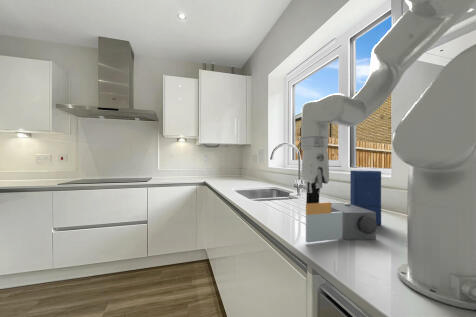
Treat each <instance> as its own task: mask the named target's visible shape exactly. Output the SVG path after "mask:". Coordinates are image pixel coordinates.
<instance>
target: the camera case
mask: <svg viewBox="0 0 476 317" xmlns="http://www.w3.org/2000/svg"><path fill="white" fill-rule="evenodd" d="M330 203H331V212H342V240H346V241H347V240H376V239H377V229H378V228H377V227H378V225H377V223H376V212H373V211H370V210H367V209H364V208H361V207H358V206H355V205H352V204H350V203H349V202H330Z"/></svg>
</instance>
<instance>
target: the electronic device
mask: <svg viewBox="0 0 476 317" xmlns="http://www.w3.org/2000/svg"><path fill="white" fill-rule="evenodd" d="M349 181H350V182H349V183H350V188H349V190H350V191H349V192H350V199H349V200H350V204H352V205H355V206H358V207H361V208H364V209H367V210H370V211H373V212H376V223H377V226H381V225H382V171H381V170H350V180H349Z"/></svg>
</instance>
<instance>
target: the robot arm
mask: <svg viewBox="0 0 476 317" xmlns="http://www.w3.org/2000/svg"><path fill="white" fill-rule="evenodd" d="M405 3H406V4H407V5H408V9H406V11H404V12H403V14H402V15H401V16H400V18H398V19H397V21H396V22H395V23H394V24H393V25H392V26H391V28H390V29H389V30H388V31H387V32H386V33H385V35H384V36H382V38H381V39H380V40H379V41H378V42H377V44H375V45H374V47H373V48H372V51H371V57H370V70H369V75H368V78H367V79H366V81H365V83H364V85H363V86H362V88H360V89H359V90H358V91H357V93H355V95H354V96H353V97H351V96H348V95H345V94H343V93H333V94H329V95H327V96H325V97H322V98H321V99H320V98H319V100H312V101H307V102H305V103H304V104H303V105H302V106H301V107H302V108H301V122H300V123H301V124H300V125H301V126H300V128H301V131H300V133H301V134H300V150H302V159H301V160H302V162H301V179H302V180H303V181H305V182H304V183H305V184H306V185H305V187H306V189H305V190H306V197H305V198H306V201H305V202H306V203H320V192H321V190H322V189H323V184H324V185H325V184H328V183H329V181H330V167H329V166H330V165H329V154H328V150H329V124H332V125H333V124H334V125H338V126H339V125H340V126H343V127H347V128H348V127H351V128H352V127H355V126H357V125H360V124H362V123H363V122H364V121H366V120H367V119H368V118H369V117H371V116H372V115H373V114H374V113H375V112H376V111H377V110H378V109H379V108H380V107H381V106H383V105H384V103H385V102H386V101H387V100H388V99H389V98H390V96H391V95H392V94H393V91H394V90H395V89H396V87H397V86H398V84H399V82H400V81H401V79H402V77H403V75H404V74H405V72H406V71H407V70H408V69H409V68H410V67H412V65H414V63H416V61H417V60H419V59H420V58H421V56H422V55H423V54H425V53H426V52H427V51H428V49H430V48H431V47H433V45H434V44H435V43H436V42H437V41H438V40H439V39H440V38H442V36H444V35H445V34H446V33H447V32H448V31H449V30H450V29H451V28H452V27H453V26H454V25H456V23H457V22H459V20H460V19H462V18H463V16H464V15H466V14H467V12H469V10H470V9H472V7H473V6H474V5H475V3H476V0H405ZM391 140H392V141H391V142H392V149H393V151H394V153H395V155H396V157H397V158H398V159H400V160H401V162H403V163H405V164H407V165H409V169H408V176H407V199H406V202H407V205H406V206H407V207H406V208H407V210H406V211H407V214H406V215H407V219H406V220H407V221H406V222H407V223H406V224H407V225H406V226H407V228H406V229H407V230H406V231H407V235H406V237H407V244H406V247H407V263H404V264H401V265H398V267H397V276H398V278H399V279H400V280H401V281H402V282H403V283H404V284H405V285H407V286H408V287H409V288H411V289H412V290H414V291H416V292H417V293H420V294H422V295H423V296H426V297H428V298H430V299H432V300H436V301H438V302H440V303H444V304H446V305H449V306H453V307H458V308H461V309H467V310H473V311H475V310H476V43H474V44H473V45H471V46H469V47H467V48H465V49H464V50H462V51H461V52H460V53H458V54H457V55H456V56H454V57H452V59H451V60H450V61H449V62H448V63H447V64H446V65H445V66H444V67H443V68H442V69H441V70H440V71H439V73H438V74H437V75H436V76H435V78H434V79H433V80H432V81H431V82H430V84H429V85H428V86H427V87H426V89H425V90H424V91H423V92H422V94H421V95H420V96H419V98H418V99H417V100H416V101H415V103H414V104H412V107H410V109H409V110H408V111H407V113H406V114H405V115H404V117H403V118H402V119H401V120H400V121H399V124H398V125H397V127H396V128H395V130H394V131H393V135H392V139H391ZM306 203H305V204H306Z"/></svg>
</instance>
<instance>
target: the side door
mask: <svg viewBox="0 0 476 317" xmlns="http://www.w3.org/2000/svg"><path fill="white" fill-rule="evenodd" d="M331 203H332V202H331V201H328V202H327V201H325V202H319V203H305V243H307V244H308V243H316V242H323V241H332V240H333V241H334V240H343V238H342V212H331Z"/></svg>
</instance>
